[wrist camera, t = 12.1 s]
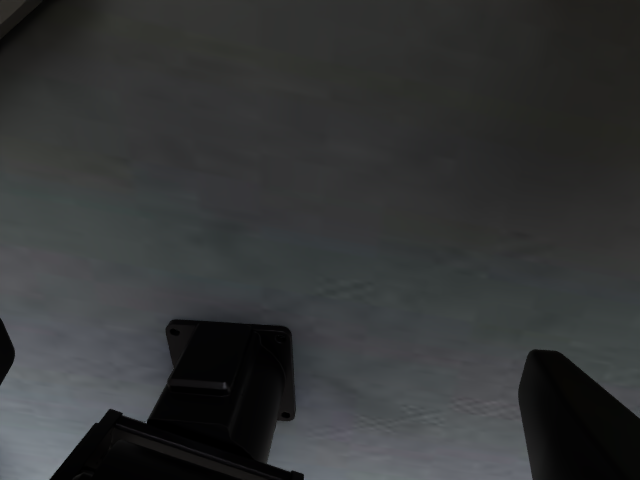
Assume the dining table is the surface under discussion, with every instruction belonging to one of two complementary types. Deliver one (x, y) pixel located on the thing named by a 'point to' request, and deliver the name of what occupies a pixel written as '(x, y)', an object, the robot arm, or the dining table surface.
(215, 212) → the dining table surface
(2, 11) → the fast food meal
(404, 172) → the dining table surface
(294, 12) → the dining table surface
